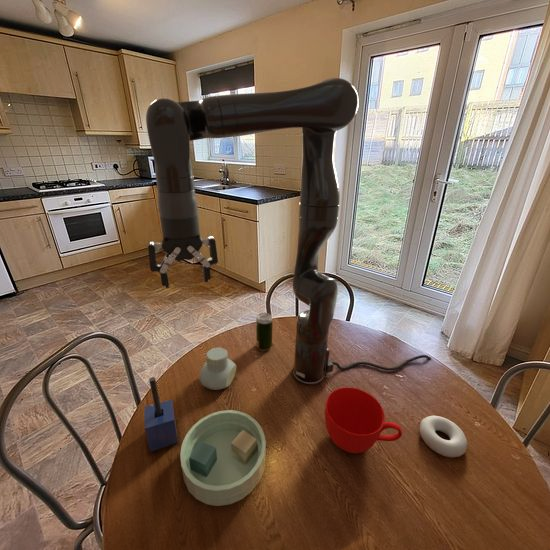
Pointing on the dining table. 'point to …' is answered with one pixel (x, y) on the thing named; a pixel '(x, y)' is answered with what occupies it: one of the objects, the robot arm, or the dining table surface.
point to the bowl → (223, 458)
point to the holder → (160, 426)
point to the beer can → (264, 331)
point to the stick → (155, 396)
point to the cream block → (244, 447)
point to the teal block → (203, 458)
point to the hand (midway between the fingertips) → (187, 283)
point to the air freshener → (217, 370)
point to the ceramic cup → (356, 420)
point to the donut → (439, 445)
